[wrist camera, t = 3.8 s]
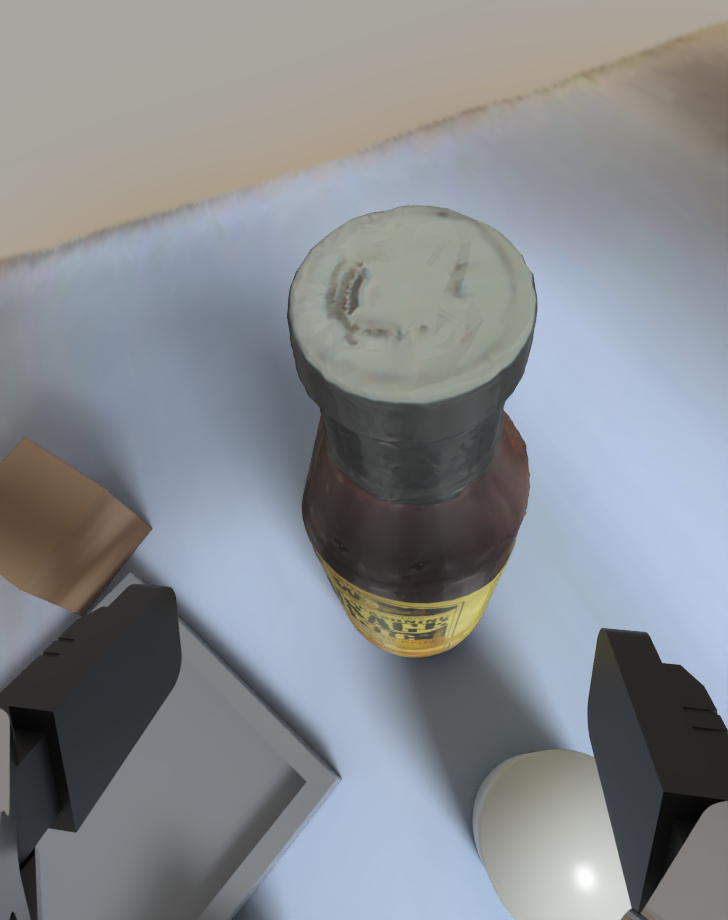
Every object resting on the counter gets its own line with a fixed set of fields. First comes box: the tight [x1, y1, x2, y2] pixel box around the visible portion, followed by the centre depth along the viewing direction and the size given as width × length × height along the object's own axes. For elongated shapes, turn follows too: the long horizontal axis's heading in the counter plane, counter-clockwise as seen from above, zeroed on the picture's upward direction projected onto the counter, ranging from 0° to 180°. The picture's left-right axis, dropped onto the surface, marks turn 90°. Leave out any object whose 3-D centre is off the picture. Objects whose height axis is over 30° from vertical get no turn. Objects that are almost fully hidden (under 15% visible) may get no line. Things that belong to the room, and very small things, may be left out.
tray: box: [37, 572, 342, 920], centre depth 25 cm, size 13×13×2 cm
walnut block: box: [0, 437, 152, 616], centre depth 28 cm, size 5×5×5 cm
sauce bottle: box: [287, 206, 537, 658], centre depth 19 cm, size 6×6×20 cm
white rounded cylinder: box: [472, 749, 632, 920], centre depth 21 cm, size 5×5×6 cm
